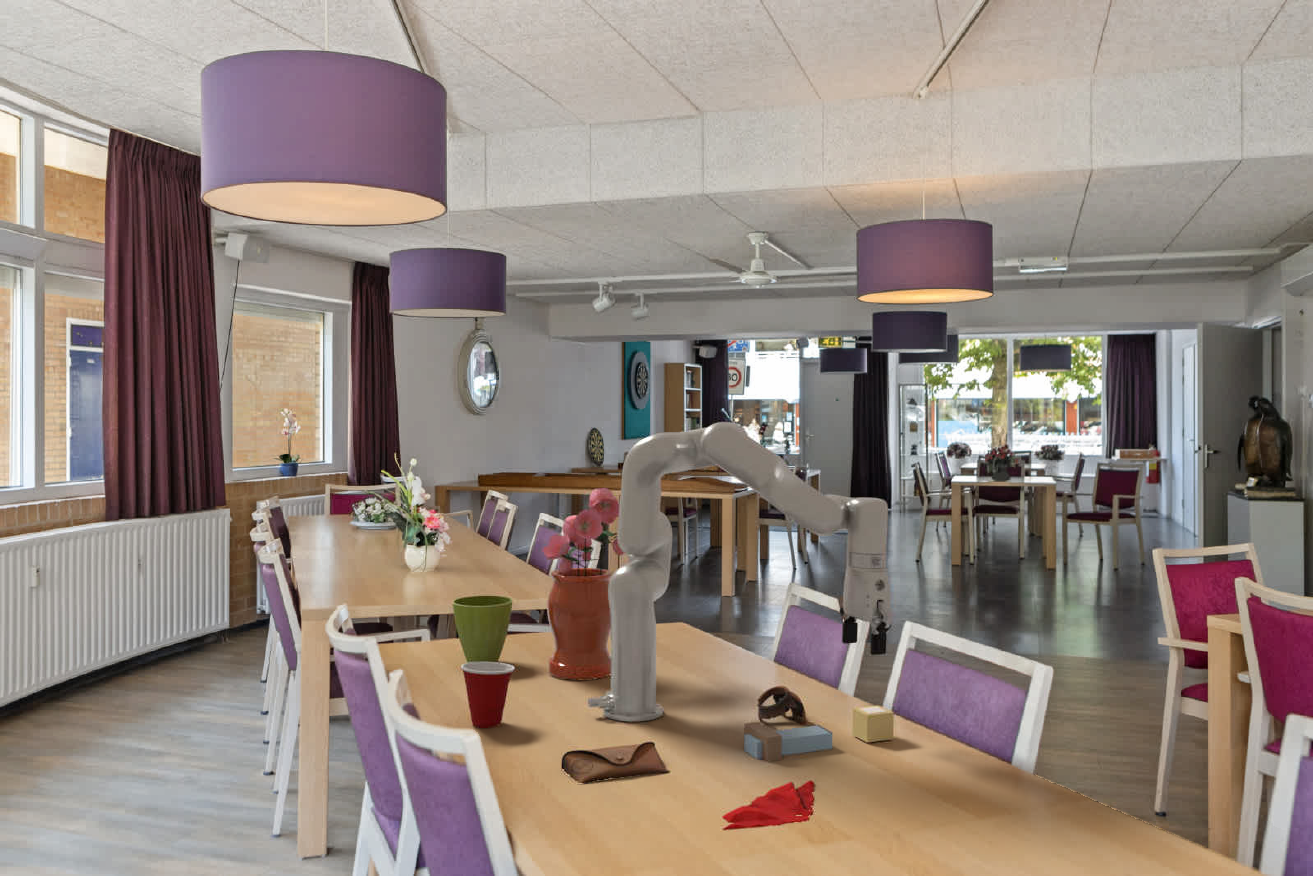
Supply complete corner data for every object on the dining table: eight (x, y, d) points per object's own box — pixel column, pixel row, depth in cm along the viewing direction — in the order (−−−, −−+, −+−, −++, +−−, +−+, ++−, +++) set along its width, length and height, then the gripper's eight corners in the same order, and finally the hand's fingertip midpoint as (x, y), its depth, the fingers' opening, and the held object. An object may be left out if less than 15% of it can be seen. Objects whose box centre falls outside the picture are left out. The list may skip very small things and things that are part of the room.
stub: (867, 742, 193) (867, 715, 192) (852, 734, 197) (852, 708, 197) (893, 739, 195) (893, 711, 195) (878, 731, 199) (878, 705, 199)
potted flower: (652, 672, 246) (654, 488, 245) (567, 689, 230) (568, 492, 229) (605, 658, 261) (607, 484, 260) (522, 673, 244) (523, 488, 244)
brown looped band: (813, 731, 202) (795, 698, 200) (770, 749, 203) (752, 717, 202) (806, 700, 214) (789, 668, 212) (765, 717, 215) (749, 686, 213)
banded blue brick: (762, 762, 182) (762, 738, 182) (739, 747, 190) (739, 724, 190) (838, 752, 188) (838, 728, 188) (812, 737, 196) (813, 715, 196)
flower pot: (484, 674, 243) (484, 608, 243) (439, 665, 251) (439, 601, 251) (524, 661, 256) (524, 599, 256) (480, 654, 264) (480, 593, 264)
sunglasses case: (576, 785, 169) (569, 745, 172) (564, 794, 175) (558, 755, 178) (673, 771, 176) (665, 733, 179) (659, 780, 182) (652, 743, 185)
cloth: (744, 847, 147) (744, 832, 147) (685, 817, 158) (685, 803, 158) (863, 806, 163) (863, 792, 163) (801, 782, 174) (801, 769, 174)
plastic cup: (525, 723, 204) (525, 664, 204) (482, 735, 196) (482, 674, 196) (492, 712, 211) (492, 655, 211) (449, 723, 203) (449, 664, 203)
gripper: (909, 567, 190) (906, 657, 190) (857, 554, 206) (854, 638, 206) (875, 568, 187) (872, 660, 187) (826, 555, 203) (823, 640, 203)
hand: (863, 648), depth 196 cm, fingers open, 9 cm apart
